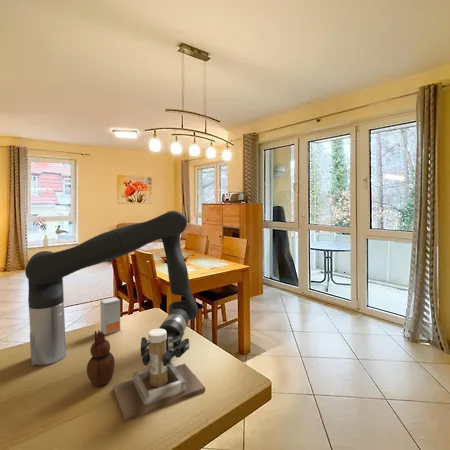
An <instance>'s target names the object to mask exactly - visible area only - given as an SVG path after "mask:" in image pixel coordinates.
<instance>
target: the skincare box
mask: <svg viewBox="0 0 450 450" xmlns="http://www.w3.org/2000/svg"><path fill="white" fill-rule="evenodd" d="M99 306H100V307H99V308H100V309H99V310H100V332H101V331H102V332H101V333H102V334H104V336H106V335H108V334H112V333H116V332H120V331H121V299H119V298H118V297H116V296H115V297H111V298H106V299H101V300H99Z"/></svg>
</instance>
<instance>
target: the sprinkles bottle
mask: <svg viewBox="0 0 450 450" xmlns="http://www.w3.org/2000/svg"><path fill="white" fill-rule="evenodd" d="M147 336H148V337H147V340H149V362H148V363H149V368H150V384H151V385H152V386H154V387H160V386H163V385H164V384H166V383H167V381H168V378H167V366H163V357H164V355H165V353H166V338H167V332H166V330H164V329H159V328H153V329H151V330H150V331H148V333H147Z"/></svg>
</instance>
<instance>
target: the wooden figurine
mask: <svg viewBox="0 0 450 450" xmlns="http://www.w3.org/2000/svg"><path fill="white" fill-rule="evenodd" d="M105 336H106V335H105V334H104V333H103V332H101V329H99V330H97V331H96V330H95V331H94V342H93V343H92V345H91V346H90V350H89V351H90V355H91V358H89V360H88V362H87V365H86V374H87V378H88V379H89V381H90V383H91V384H92V385H93V386H94V387H101V386H104V385H106V384H108V383H109V382H110V381H111V380H112V378H113V376H114V372H115V368H116V367H115V366H116V364H115V357H114V355H113V353H111V352H110V351H111V344H110V342H109V340H107V339H106V337H105Z"/></svg>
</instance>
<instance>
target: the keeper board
mask: <svg viewBox="0 0 450 450" xmlns="http://www.w3.org/2000/svg"><path fill="white" fill-rule="evenodd" d="M167 378H168V381H167V383H166V384H164V385H163V386H160V387H154V386H152V385H151V384H150V367H149V368H147V369H143V370H140V371H137V372H133V373H132V379H130V380H128V381H124V382H121V383H118V384H114V385H112V391H113V393H114V396H115V399H116V401H117V405H118V407H119V410H120V412H121V415H122V418H123V421H124V422H127V421H130V420H132V419H135V418H137V417H141V416H142V415H145V414H149V413H151V412H153V411H156V410H159V409H161V408H164V407H166V406H167V407H168V406H169V405H172V404H175V403H177V402H179V401H182V400H185V399H188V398H190V397H193V396H196V395H198V394H201V393H204V392H206V387H205V385H204V383H202V381H200V379H198V377H197V376H196V375H195V374H194V372H193V371H192V370H191V368H189V367H188V366H187V365H186V363H182V364H178V365H176V366H174V365H173V363H172V362H171V361H170V363H169V364H167Z"/></svg>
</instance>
